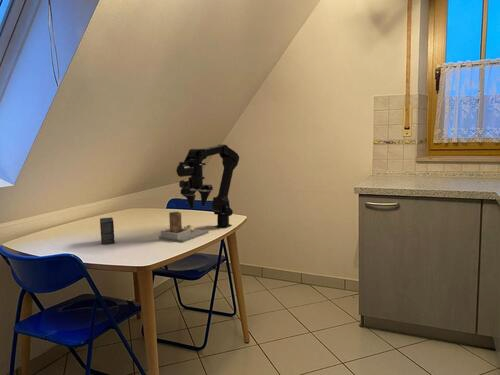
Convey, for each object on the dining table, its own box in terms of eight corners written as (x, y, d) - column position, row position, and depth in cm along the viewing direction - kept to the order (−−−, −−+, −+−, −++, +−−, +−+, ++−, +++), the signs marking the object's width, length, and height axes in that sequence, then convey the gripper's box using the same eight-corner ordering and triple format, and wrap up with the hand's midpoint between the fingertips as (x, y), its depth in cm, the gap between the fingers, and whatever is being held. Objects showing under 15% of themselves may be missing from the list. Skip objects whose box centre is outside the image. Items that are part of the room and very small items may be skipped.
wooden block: (177, 234, 196) (176, 211, 195) (181, 235, 193) (181, 212, 192) (170, 235, 194) (169, 212, 192) (174, 237, 191) (173, 213, 189)
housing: (185, 229, 210) (185, 222, 209) (208, 232, 203) (208, 224, 202) (159, 238, 192) (158, 230, 192) (182, 242, 185) (182, 233, 185)
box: (101, 240, 190) (99, 218, 189) (114, 239, 192) (112, 217, 191) (101, 245, 183) (100, 221, 181) (114, 243, 185) (113, 220, 183)
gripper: (194, 172, 210) (195, 202, 212) (170, 176, 194) (172, 208, 196) (213, 173, 205) (213, 204, 207) (189, 177, 189) (190, 210, 191)
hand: (197, 207), depth 200 cm, fingers open, 9 cm apart
